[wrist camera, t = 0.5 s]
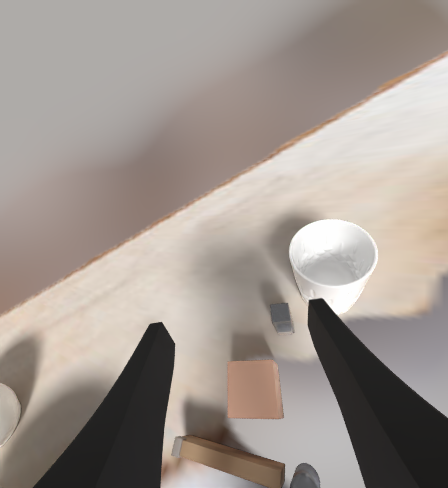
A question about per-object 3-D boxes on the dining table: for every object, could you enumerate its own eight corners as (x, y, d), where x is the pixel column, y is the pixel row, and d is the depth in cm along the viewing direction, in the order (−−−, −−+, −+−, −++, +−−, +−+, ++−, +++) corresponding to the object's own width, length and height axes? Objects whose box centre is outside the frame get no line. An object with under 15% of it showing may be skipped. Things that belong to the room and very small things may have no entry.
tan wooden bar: (285, 462, 22) (280, 470, 19) (284, 482, 21) (279, 493, 19) (190, 433, 26) (174, 436, 23) (187, 449, 25) (170, 454, 22)
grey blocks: (322, 498, 20) (323, 519, 16) (296, 495, 21) (292, 515, 17) (292, 316, 30) (288, 302, 26) (275, 318, 30) (269, 304, 26)
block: (283, 417, 24) (279, 419, 21) (238, 416, 26) (227, 418, 22) (277, 365, 27) (272, 359, 24) (237, 366, 28) (227, 361, 25)
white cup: (356, 330, 26) (372, 298, 19) (288, 309, 30) (279, 275, 23) (365, 271, 30) (382, 223, 22) (303, 259, 34) (299, 214, 26)
